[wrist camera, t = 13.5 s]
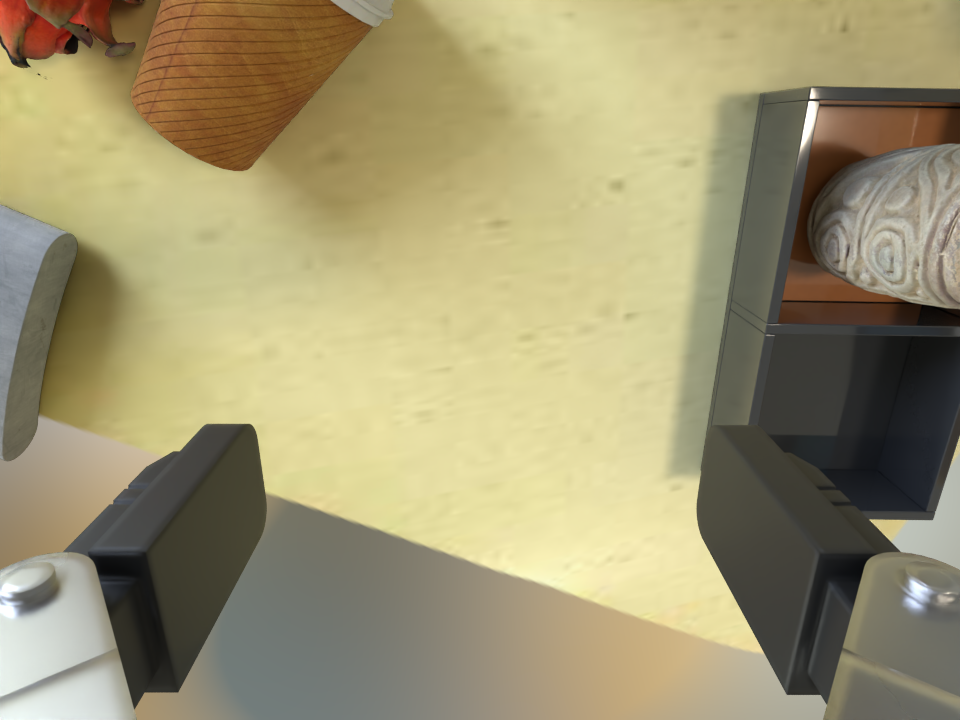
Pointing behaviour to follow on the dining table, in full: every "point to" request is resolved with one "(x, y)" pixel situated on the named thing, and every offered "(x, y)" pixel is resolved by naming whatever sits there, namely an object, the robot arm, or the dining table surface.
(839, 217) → the carving
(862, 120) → the storage box with compartments
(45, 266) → the hip flask
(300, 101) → the disposable coffee cup
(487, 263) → the dining table surface
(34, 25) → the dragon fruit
